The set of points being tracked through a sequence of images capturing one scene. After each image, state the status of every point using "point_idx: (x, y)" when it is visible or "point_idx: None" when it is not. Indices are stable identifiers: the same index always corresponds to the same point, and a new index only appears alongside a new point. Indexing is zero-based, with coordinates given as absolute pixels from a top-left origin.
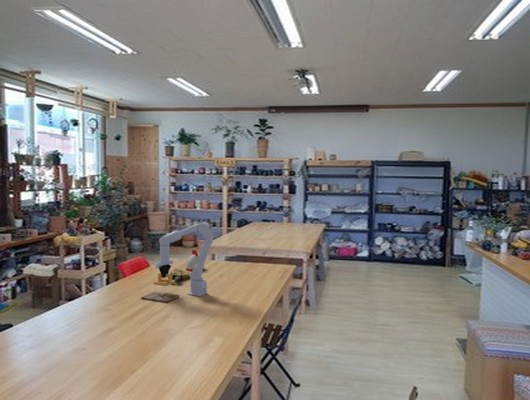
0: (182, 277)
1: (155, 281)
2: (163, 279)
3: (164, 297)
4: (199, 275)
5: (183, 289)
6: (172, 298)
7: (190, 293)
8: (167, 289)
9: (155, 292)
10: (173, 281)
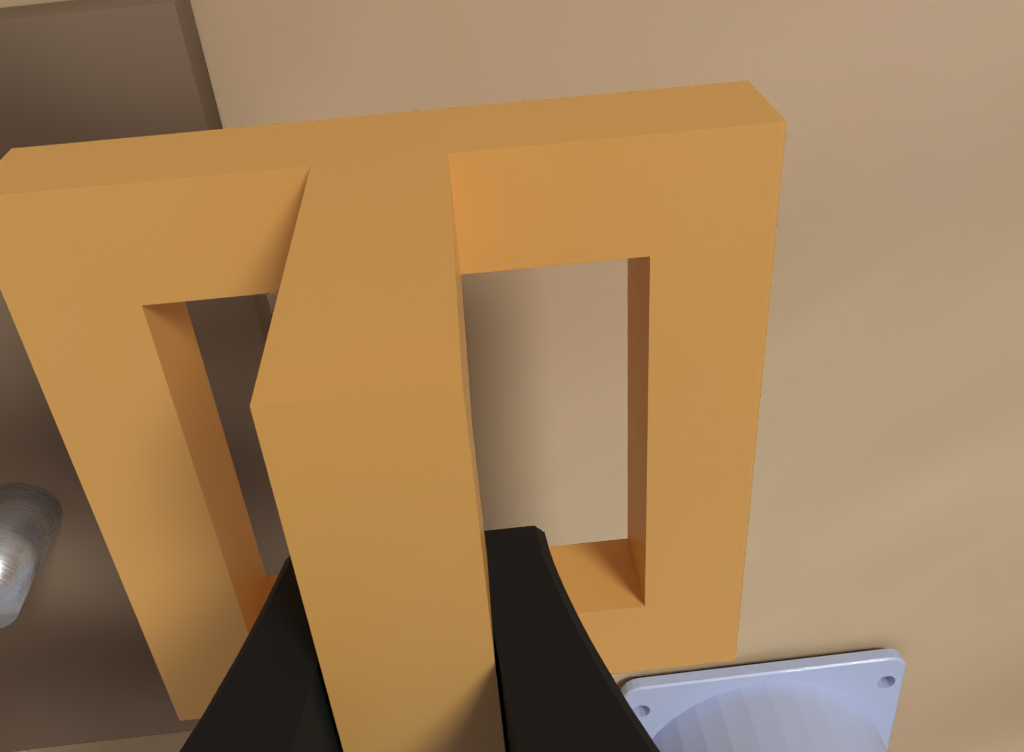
0: None
1: (81, 199)
2: (643, 246)
3: (36, 587)
4: None
5: (982, 386)
6: (121, 729)
7: (661, 721)
8: (834, 5)
9: (167, 79)
10: (622, 660)
